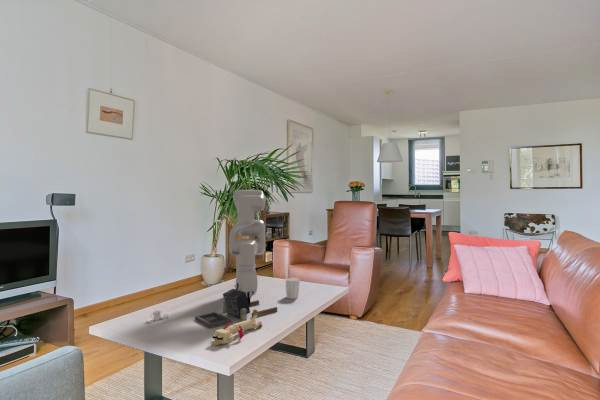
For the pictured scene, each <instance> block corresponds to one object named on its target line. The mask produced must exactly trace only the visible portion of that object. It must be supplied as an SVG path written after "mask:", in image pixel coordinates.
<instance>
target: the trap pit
mask: <svg viewBox="0 0 600 400" xmlns="http://www.w3.org/2000/svg"><path fill="white" fill-rule="evenodd" d="M194 319H195V320H194V321H197V322H199V323H200V324H202V325H204V326H205V327H208V328H209V329H214V328H217V327H221V326H226V324H227V323H230V322H231V323H230V324H232V323H233V322H232V318H229V317H228V316H226V315H224V314H221V313H220V312H218V311H212V312H207V313H203V314H199V315H195V316H194Z"/></svg>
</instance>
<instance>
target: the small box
mask: <svg viewBox="0 0 600 400" xmlns="http://www.w3.org/2000/svg"><path fill="white" fill-rule="evenodd" d="M222 296H223V301H225V305H226V309H227V314H228V315H230V316H233V317H235V318H238V319H240V309H242V308H245V309H247V315H248V314H250V313H251V310H250V307H249V304H248V300H247V296H246V292H243V291H237V290H235V288H232V289H228V290H227V291H226V292H223V293H222Z"/></svg>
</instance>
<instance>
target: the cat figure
mask: <svg viewBox="0 0 600 400" xmlns="http://www.w3.org/2000/svg"><path fill="white" fill-rule="evenodd" d="M258 311H259V310H257V309H253V310H252V313H254V316H253V318H251V319H248V320H245V321H240V322H237V323H233V324H232V323H231V322H230V323H227V324H225V325H224V327H223V328H219V329H215V331H214V334H213V335H212V339H213V341H211V342H212V343H214V344H213V345H214V346H219V345H221V344H222V345H224V344H230V343H231V342H233V341H234V338H235V335H236V334H239V335H238V336H239V337H238V340H241V339H243V337H244V335H245V334H244V331H245V330H246V331H248V330H252V329H257V328H258V329H260V328H262V327H263V323H262V321H261V320H259V321H256V318H258V317H257V316H258ZM230 324H232V325H230Z"/></svg>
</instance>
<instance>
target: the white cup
mask: <svg viewBox="0 0 600 400" xmlns="http://www.w3.org/2000/svg"><path fill="white" fill-rule="evenodd" d="M300 280H301V279H300V278H297V277H288V278H285V294H286V298H287V299H291V300H292V299H293V300H294V299H298V298H299V292H300Z"/></svg>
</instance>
